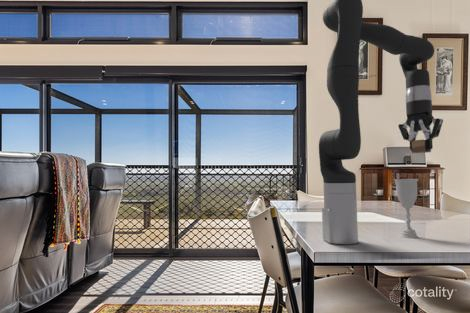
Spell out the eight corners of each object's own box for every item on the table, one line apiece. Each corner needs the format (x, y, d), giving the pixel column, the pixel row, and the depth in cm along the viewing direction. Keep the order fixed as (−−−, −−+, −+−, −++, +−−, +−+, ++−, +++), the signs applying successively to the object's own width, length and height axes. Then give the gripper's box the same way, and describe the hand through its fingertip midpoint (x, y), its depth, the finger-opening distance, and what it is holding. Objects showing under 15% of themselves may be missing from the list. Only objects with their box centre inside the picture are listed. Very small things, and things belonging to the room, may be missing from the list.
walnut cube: (424, 151, 101) (424, 138, 101) (412, 152, 104) (411, 140, 105) (430, 152, 103) (430, 139, 104) (418, 153, 107) (417, 140, 107)
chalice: (425, 239, 93) (422, 179, 94) (400, 238, 94) (398, 179, 95) (416, 234, 100) (413, 178, 101) (393, 234, 101) (391, 179, 103)
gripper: (447, 98, 101) (450, 150, 100) (403, 106, 113) (405, 153, 112) (435, 95, 97) (438, 149, 96) (392, 104, 109) (394, 152, 108)
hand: (421, 151), depth 104 cm, fingers closed on walnut cube, 4 cm apart
